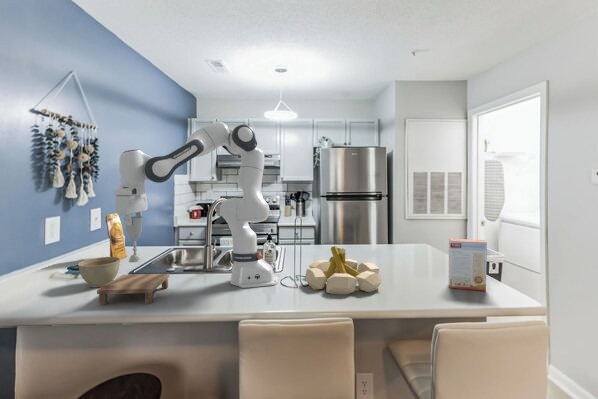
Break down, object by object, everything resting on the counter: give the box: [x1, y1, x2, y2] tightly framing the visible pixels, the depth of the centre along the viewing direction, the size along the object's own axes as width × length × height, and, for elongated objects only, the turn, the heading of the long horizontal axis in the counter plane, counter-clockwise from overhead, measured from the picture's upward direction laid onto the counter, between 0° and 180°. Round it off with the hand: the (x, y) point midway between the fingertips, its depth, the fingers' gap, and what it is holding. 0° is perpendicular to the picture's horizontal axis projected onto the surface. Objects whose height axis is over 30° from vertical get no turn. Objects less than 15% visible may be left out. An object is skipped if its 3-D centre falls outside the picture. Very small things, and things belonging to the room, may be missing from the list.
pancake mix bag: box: [105, 212, 128, 261], centre depth 193 cm, size 7×19×28 cm, turn 3°
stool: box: [96, 273, 170, 306], centre depth 131 cm, size 20×20×6 cm
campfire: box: [304, 245, 382, 295], centre depth 146 cm, size 35×34×17 cm
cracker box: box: [448, 238, 488, 292], centre depth 138 cm, size 14×6×21 cm, turn 71°
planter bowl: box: [78, 256, 121, 288], centre depth 146 cm, size 16×16×11 cm
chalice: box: [123, 215, 144, 264], centre depth 130 cm, size 7×7×18 cm
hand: (134, 224), depth 130 cm, fingers closed on chalice, 6 cm apart
